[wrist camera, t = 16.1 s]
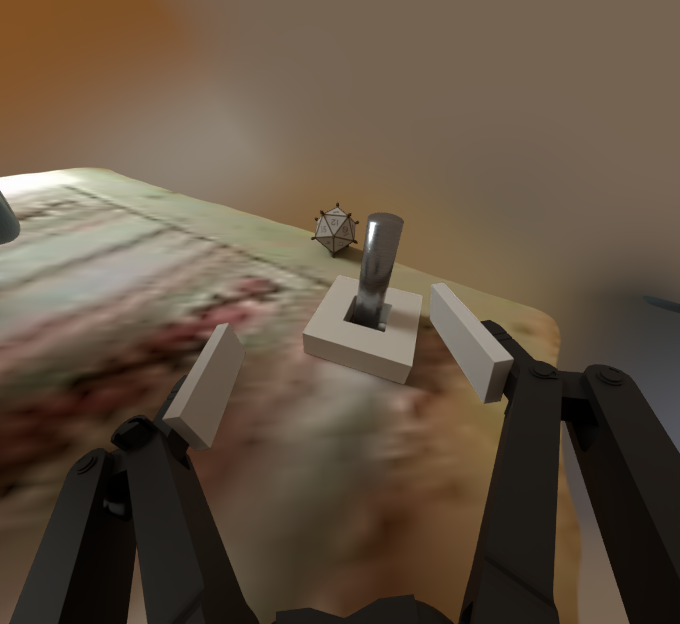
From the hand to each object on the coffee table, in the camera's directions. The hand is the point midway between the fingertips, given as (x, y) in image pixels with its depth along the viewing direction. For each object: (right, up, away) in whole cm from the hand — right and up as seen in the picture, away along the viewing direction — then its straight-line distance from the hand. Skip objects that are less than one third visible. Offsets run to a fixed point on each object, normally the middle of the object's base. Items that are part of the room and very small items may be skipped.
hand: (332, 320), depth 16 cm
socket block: (+4, -2, +16) cm, 17 cm away
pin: (+4, -2, +16) cm, 17 cm away
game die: (0, +13, +31) cm, 34 cm away
